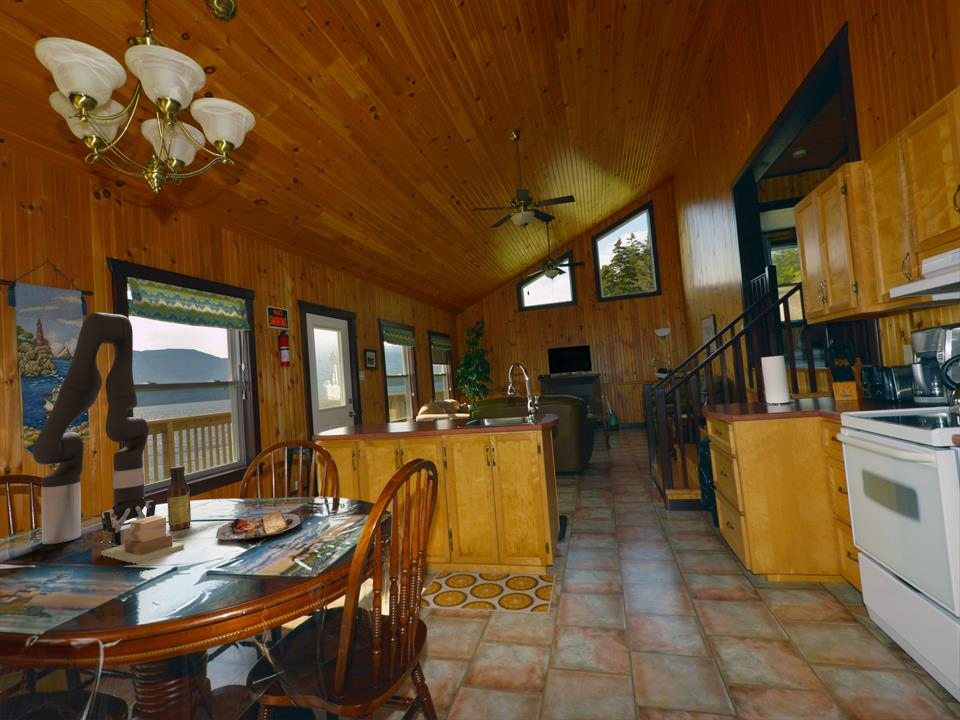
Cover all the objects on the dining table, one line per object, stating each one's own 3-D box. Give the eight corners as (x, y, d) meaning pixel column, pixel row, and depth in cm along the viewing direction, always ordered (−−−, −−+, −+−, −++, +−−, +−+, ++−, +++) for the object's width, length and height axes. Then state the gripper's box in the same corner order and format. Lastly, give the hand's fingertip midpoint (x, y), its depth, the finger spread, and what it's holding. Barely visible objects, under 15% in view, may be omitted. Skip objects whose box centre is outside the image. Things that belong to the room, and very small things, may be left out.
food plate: (220, 526, 153) (219, 515, 154) (296, 515, 163) (296, 505, 164) (213, 552, 131) (213, 539, 131) (303, 537, 141) (303, 525, 141)
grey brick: (113, 545, 140) (112, 528, 140) (135, 539, 145) (134, 522, 145) (124, 547, 137) (124, 530, 137) (146, 541, 142) (146, 524, 143)
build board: (101, 555, 131) (101, 550, 131) (148, 541, 142) (148, 536, 142) (136, 563, 123) (136, 558, 123) (184, 548, 134) (183, 543, 134)
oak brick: (130, 540, 130) (130, 521, 130) (153, 533, 135) (153, 515, 135) (142, 542, 127) (142, 523, 127) (166, 535, 133) (165, 517, 133)
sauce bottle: (194, 526, 156) (193, 465, 157) (174, 531, 150) (172, 468, 151) (184, 524, 159) (183, 464, 160) (164, 529, 154) (163, 467, 155)
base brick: (124, 551, 129) (124, 540, 130) (156, 542, 136) (156, 531, 137) (141, 555, 126) (140, 544, 126) (172, 545, 133) (172, 534, 133)
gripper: (147, 478, 150) (149, 532, 149) (94, 489, 137) (95, 547, 136) (161, 479, 147) (162, 534, 146) (107, 490, 134) (108, 550, 133)
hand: (130, 540), depth 141 cm, fingers closed on grey brick, 6 cm apart
